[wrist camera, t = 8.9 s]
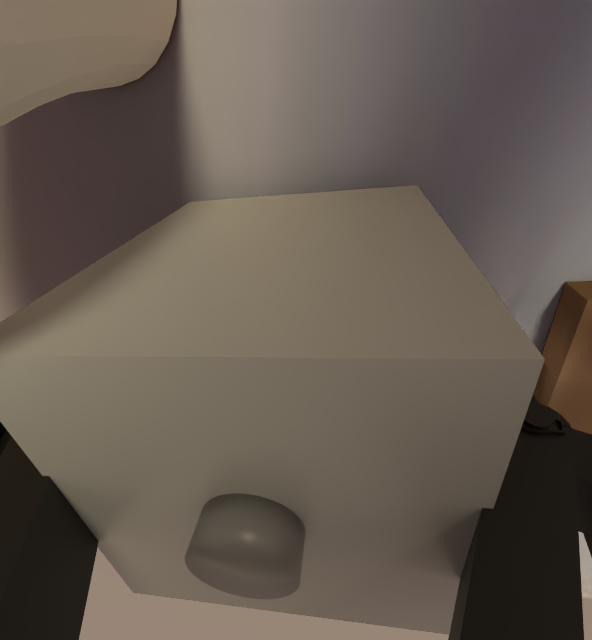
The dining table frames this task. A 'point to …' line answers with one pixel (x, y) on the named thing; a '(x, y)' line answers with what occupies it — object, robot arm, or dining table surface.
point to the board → (569, 358)
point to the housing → (278, 404)
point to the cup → (76, 47)
